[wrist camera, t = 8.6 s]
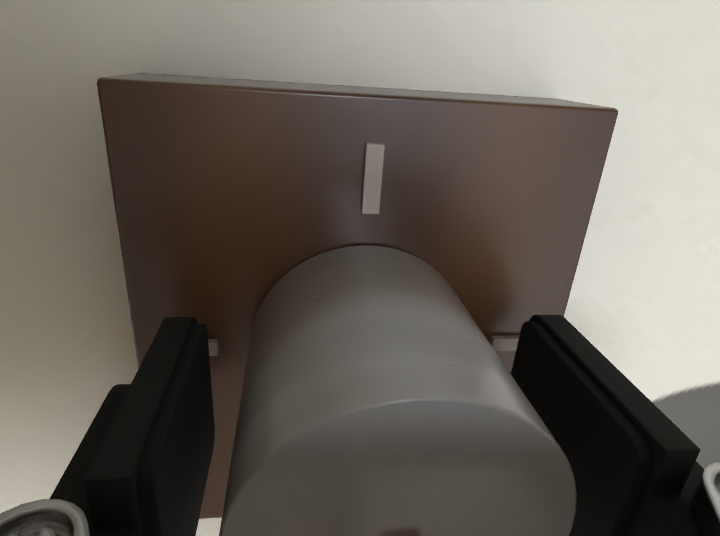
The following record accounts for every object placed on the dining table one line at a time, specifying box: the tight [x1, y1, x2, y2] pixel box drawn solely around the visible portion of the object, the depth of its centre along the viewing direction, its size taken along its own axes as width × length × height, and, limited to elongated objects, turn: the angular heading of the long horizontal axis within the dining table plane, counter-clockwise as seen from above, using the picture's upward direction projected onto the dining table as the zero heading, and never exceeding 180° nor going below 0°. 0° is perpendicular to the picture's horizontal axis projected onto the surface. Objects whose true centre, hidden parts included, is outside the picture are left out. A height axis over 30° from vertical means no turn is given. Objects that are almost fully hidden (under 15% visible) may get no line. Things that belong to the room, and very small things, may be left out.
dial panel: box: [97, 73, 618, 519], centre depth 12 cm, size 10×11×3 cm
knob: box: [219, 245, 577, 536], centre depth 9 cm, size 5×5×5 cm
